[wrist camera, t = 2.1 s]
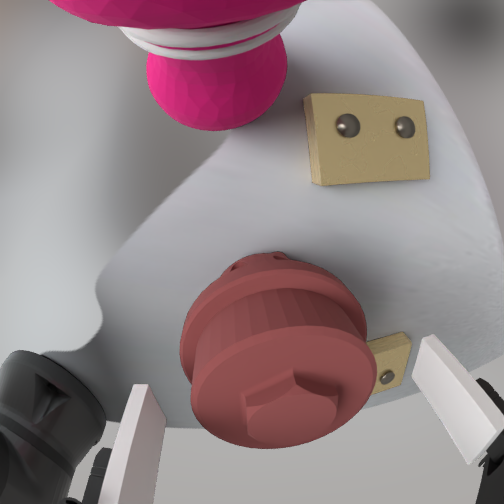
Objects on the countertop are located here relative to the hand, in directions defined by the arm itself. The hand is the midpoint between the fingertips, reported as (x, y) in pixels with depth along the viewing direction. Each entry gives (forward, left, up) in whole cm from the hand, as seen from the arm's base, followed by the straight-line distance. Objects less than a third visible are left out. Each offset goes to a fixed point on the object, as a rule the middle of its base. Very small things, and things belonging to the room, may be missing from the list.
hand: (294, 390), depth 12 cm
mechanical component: (0, 0, -11) cm, 11 cm away
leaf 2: (+9, +11, -10) cm, 17 cm away
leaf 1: (+9, -10, -10) cm, 17 cm away
